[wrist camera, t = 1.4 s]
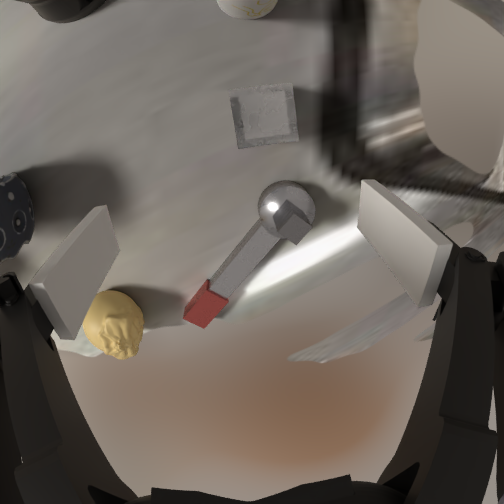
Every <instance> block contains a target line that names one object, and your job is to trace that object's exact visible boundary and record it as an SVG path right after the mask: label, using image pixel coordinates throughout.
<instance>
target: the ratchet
mask: <svg viewBox="0 0 504 504" xmlns="http://www.w3.org/2000/svg"><path fill="white" fill-rule="evenodd" d="M258 211H259V216H260V218H259V220H258V221H257V222H256V223H255V224H254V226H253V227H252V228H251V229H250V231H249V232H248V233H247V234H246V235H245V237H244V238H243V239H242V240H241V242H240V243H239V244H238V245H237V247H236V248H235V249H234V250H233V252H232V253H231V254H230V255H229V256H228V258H227V259H226V260H225V261H224V263H223V264H222V265H221V266H220V268H219V269H218V270H217V271H216V273H215V274H214V275H213V276H212V278H211V279H210V280H206V282H205V283H204V284H203V285H202V287H201V288H200V289H199V290H198V292H197V293H196V294H195V295H194V297H193V298H192V299H191V301H190V302H189V303H188V304H187V306H186V307H185V310H184V317H183V319H185V320H187V321H189V322H191V323H193V324H195V325H197V326H200V327H202V328H205V327H206V326H207V325H208V324H209V323H210V322H211V321H212V320H213V318H214V317H215V316H216V315H217V314H218V313H219V312H220V311H221V310H222V309H223V307H224V306H225V305H226V304H227V303H228V297H229V296H230V295H231V294H232V293H233V292H234V290H235V289H236V288H237V287H238V286H239V285H240V284H241V283H242V281H243V280H244V279H245V278H246V277H247V276H248V275H249V273H250V272H251V271H252V270H253V269H254V268H255V267H256V266H257V264H258V263H259V262H260V261H261V260H262V259H263V258H264V256H265V255H266V254H267V253H268V252H269V251H270V250H271V249H272V247H273V246H274V245H275V244H276V243H277V242H278V241H279V239H280V238H283V239H288V240H290V241H291V242H292V243H294V244H295V245H297V244H298V243H299V242H300V241H301V240H302V238H303V237H304V236H305V235H306V234H307V233H308V232H309V231H310V230H311V228H312V225H311V224H312V223H313V220H314V217H315V205H314V202H313V200H312V198H311V197H310V195H309V194H308V193H307V191H306V190H305V189H304V188H303V187H302V186H301V185H300V184H298V183H296V182H293V181H278V182H275V183H273V184H271V185H270V186H268V187H267V188H266V189H265V190H264V191H263V193H262V194H261V196H260V198H259V202H258Z"/></svg>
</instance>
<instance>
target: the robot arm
mask: <svg viewBox="0 0 504 504" xmlns="http://www.w3.org/2000/svg"><path fill="white" fill-rule="evenodd" d="M16 1H21V2H25V3H29V4H30V5H31V6H32V7H33V8H34V9H35V10H36V11H37V12H38V14H39V15H40V16H41V17H42V18H44V19H46V20H48V21H52V22H56V23H68V22H72V21H76V20H78V19H81V18H83V17H85V16H87V15H88V14H90V13H91V12H93V11H94V10H96V9H97V8H98V7H100V6H101V5H102V4H103V3H104V2H105V1H106V0H16ZM357 228H358V229H359V230H360V232H361V233H362V234H363V235H364V237H365V238H366V239H367V240H368V242H369V243H370V244H371V245H372V247H373V248H374V249H375V250H376V252H377V253H378V254H379V256H380V257H381V258H382V259H383V261H384V262H385V263H386V265H387V266H388V267H389V269H390V270H391V272H392V273H393V274H394V276H395V277H396V278H397V280H398V281H399V283H400V284H401V285H402V287H403V288H404V290H405V291H406V292H407V294H408V295H409V297H410V298H411V300H412V301H413V302H414V304H415V305H416V307H417V308H420V307H425V306H429V305H432V304H433V301H434V299H435V296H436V294H437V293H438V294H439V295H440V296H441V298H442V299H441V302H440V304H439V307H438V309H437V312H436V314H435V316H434V318H433V320H434V321H435V320H436V325H435V330H434V335H433V340H432V344H431V348H430V353H429V357H428V361H427V365H426V368H425V372H424V376H423V380H422V383H421V386H420V389H419V393H418V396H417V399H416V402H415V405H414V408H413V410H412V414H411V416H410V419H409V421H408V424H407V427H406V430H405V432H404V434H403V437H402V439H401V442H400V444H399V446H398V449H397V451H396V453H395V455H394V457H393V458H392V460H391V461H390V463H389V464H388V465H387V467H386V468H385V470H384V471H383V473H382V475H381V476H380V478H379V480H378V481H377V483H371V482H363V481H351V477H350V474H349V475H345V476H341V477H337V478H333V479H328V480H323V481H319V482H314V483H308V484H302V485H299V486H297V487H294V488H292V489H289V490H287V491H283V492H281V493H278V494H275V495H272V496H269V497H266V498H262V499H259V500H256V501H251V502H250V501H248V502H247V501H240V500H235V499H230V498H225V497H220V496H215V495H211V494H207V493H203V492H199V491H183V490H171V489H160V488H152V489H151V495H148V496H144V497H139V498H138V497H137V496H136V494H135V493H134V492H133V491H132V490H131V489H130V488H129V487H128V486H127V485H126V484H124V482H122V481H121V479H120V478H119V477H118V476H117V474H116V473H115V471H114V470H113V468H112V466H111V465H110V463H109V462H108V460H107V458H106V457H105V455H104V453H103V451H102V450H101V448H100V446H99V445H98V443H97V441H96V439H95V437H94V435H93V433H92V431H91V430H90V427H89V425H88V424H87V421H86V419H85V418H84V415H83V413H82V411H81V409H80V407H79V405H78V403H77V400H76V398H75V395H74V393H73V391H72V388H71V386H70V383H69V381H68V379H67V376H66V373H65V371H64V368H63V365H62V362H61V359H60V357H59V354H58V351H57V348H56V344H55V342H54V340H53V339H52V337H51V336H50V335H51V333H52V331H53V329H54V330H55V331H56V333H57V334H58V336H59V337H60V339H65V340H75V338H76V336H77V334H78V331H79V329H80V327H81V325H82V323H83V321H84V318H85V316H86V314H87V312H88V310H89V308H90V306H91V304H92V302H93V300H94V298H95V296H96V294H97V292H98V290H99V288H100V286H101V284H102V282H103V281H104V279H105V277H106V275H107V273H108V271H109V269H110V268H111V266H112V264H113V262H114V260H115V259H116V257H117V255H118V253H119V252H120V248H119V245H118V242H117V239H116V235H115V232H114V229H113V226H112V222H111V219H110V215H109V212H108V208H107V205H103V206H97V207H94V208H93V209H92V210H91V211H90V212H89V213H88V214H87V215H86V216H85V217H84V218H83V220H82V221H81V222H80V223H79V224H78V225H77V226H76V227H75V228H74V229H73V230H72V231H71V233H70V234H69V235H68V236H67V237H66V238H65V239H64V241H63V242H62V243H61V244H60V245H59V246H58V248H57V249H56V250H55V251H54V252H53V253H52V255H51V256H50V257H49V258H48V260H47V261H46V262H45V263H44V265H43V266H42V267H41V268H40V270H39V271H38V272H37V273H36V275H35V276H34V277H33V279H32V280H31V281H30V283H29V284H28V286H27V287H26V288H25V290H23V288H22V286H21V285H20V283H19V281H18V279H17V277H16V275H15V273H14V272H9V273H6V274H4V275H2V276H1V277H0V504H482V501H483V498H484V495H485V492H486V488H487V485H488V482H489V478H490V475H491V471H492V467H493V463H494V459H495V454H496V449H497V475H496V481H497V497H498V504H504V252H500V254H499V256H498V259H497V262H488V261H487V258H486V257H485V256H484V255H483V254H482V253H481V252H479V251H478V250H476V249H473V248H469V247H462V248H460V247H459V246H458V245H457V244H456V243H454V242H453V241H452V240H451V239H450V238H449V237H448V236H447V235H445V233H443V232H442V231H441V230H439V228H438V227H437V226H435V225H434V224H433V223H431V222H429V221H428V220H426V219H425V218H423V217H422V216H421V215H420V214H419V213H417V212H416V211H415V210H414V209H412V208H411V207H410V206H409V205H407V204H406V203H405V202H404V201H402V200H401V199H400V198H398V197H397V196H396V195H395V194H393V193H392V192H391V191H389V190H388V189H387V188H385V187H384V186H383V185H381V184H380V183H378V182H377V181H376V180H362V182H361V195H360V206H359V216H358V225H357ZM436 318H437V319H436ZM493 388H494V397H495V408H496V423H497V433H496V431H494V430H490V429H489V427H488V421H489V415H490V408H491V400H492V390H493ZM21 457H22V459H21ZM22 461H23V463H22Z"/></svg>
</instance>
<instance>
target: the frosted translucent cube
mask: <svg viewBox="0 0 504 504" xmlns="http://www.w3.org/2000/svg"><path fill="white" fill-rule="evenodd" d="M229 95H230V101H231V107H232V113H233V119H234V125H235V132H236V138H237V144H238V149H242V148H248V147H255V146H262V145H269V144H277V143H285V142H294V141H299V136H298V127H297V118H296V109H295V101H294V93H293V86H292V83H280V84H269V85H260V86H252V87H245V88H238V89H231V90H229Z"/></svg>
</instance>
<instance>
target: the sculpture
mask: <svg viewBox="0 0 504 504" xmlns="http://www.w3.org/2000/svg"><path fill="white" fill-rule="evenodd" d="M144 323H145V321H144V320H143V314H142V311H141V309H140V308H139V307H138V306H137V305H136V303H135V302H134V301H133V300H132V299H131V298H130V297H129V296H127V295H126V294H124V293H121V292H118V291H103V292H100V293H98V294H96V296H95V298H94V300H93V302H92V304H91V306H90V308H89V310H88V312H87V314H86V316H85V318H84V321H83V328H84V332H85V334H86V336H87V338H88V339H89V341H90V342H91V343H92V344H93V345H94V346H95V347H97V348H98V349H100V350H102V351H104V352H105V354H106V355H112V356H114V357H116V358H118V359H121V360H123V359H127V358H129V357H131V356H135V355H136V354H137V352H138V349H139V348H138V346H139V343H140V341H141V340H142V335H143V329H144V327H143V325H144Z"/></svg>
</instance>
